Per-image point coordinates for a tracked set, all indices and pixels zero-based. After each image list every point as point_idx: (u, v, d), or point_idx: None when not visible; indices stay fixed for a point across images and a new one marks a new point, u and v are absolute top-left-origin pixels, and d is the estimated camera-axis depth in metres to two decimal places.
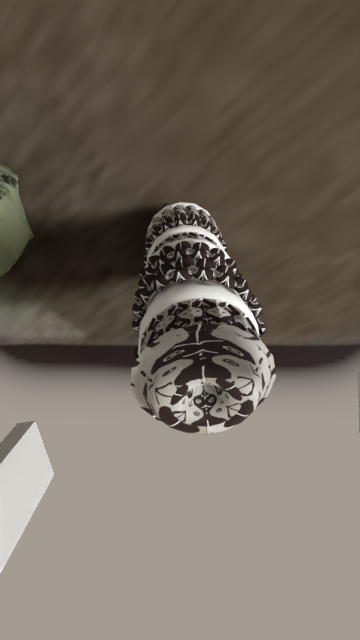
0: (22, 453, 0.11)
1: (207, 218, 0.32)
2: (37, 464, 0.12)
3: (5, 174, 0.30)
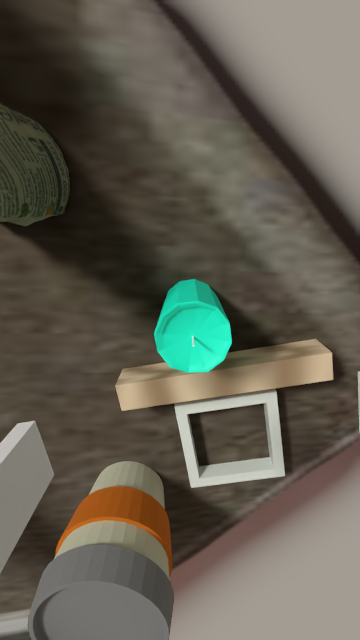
0: (23, 453, 0.11)
1: None
2: (37, 464, 0.12)
3: None
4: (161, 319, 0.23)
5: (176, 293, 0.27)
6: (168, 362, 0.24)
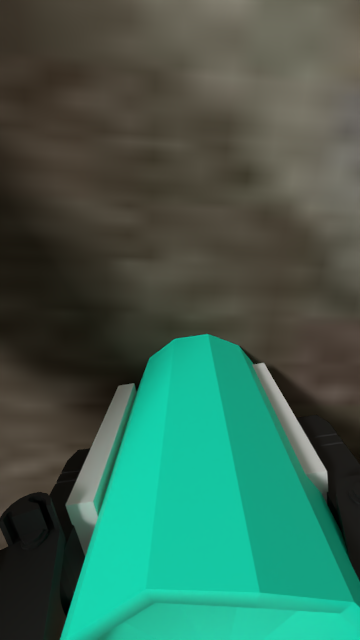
0: None
1: None
2: None
3: None
4: None
5: (160, 414, 0.09)
6: None
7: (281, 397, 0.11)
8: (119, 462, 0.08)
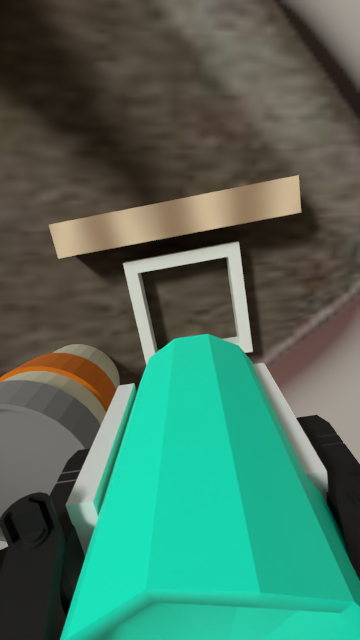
0: None
1: None
2: None
3: None
4: None
5: (160, 414, 0.09)
6: None
7: (281, 397, 0.11)
8: (119, 462, 0.08)
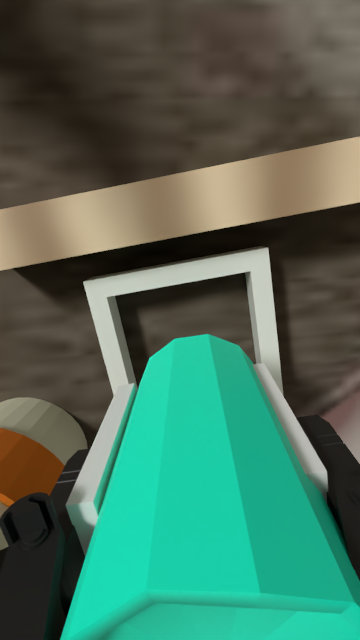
0: None
1: None
2: None
3: None
4: None
5: (160, 414, 0.09)
6: None
7: (281, 397, 0.11)
8: (119, 462, 0.08)
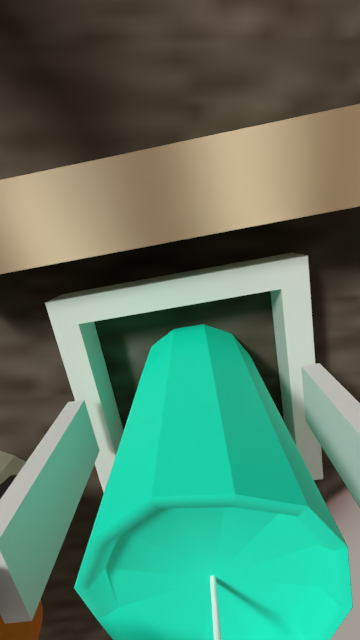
0: (77, 427, 0.12)
1: None
2: (87, 439, 0.13)
3: None
4: (95, 549, 0.06)
5: (161, 387, 0.10)
6: None
7: (354, 401, 0.10)
8: (127, 426, 0.10)
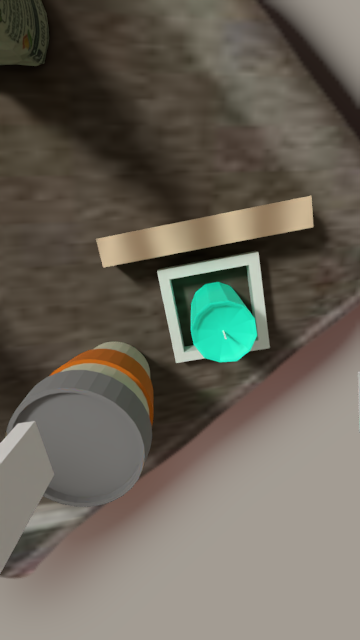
0: (22, 453, 0.11)
1: None
2: (37, 464, 0.12)
3: None
4: (197, 317, 0.27)
5: (206, 294, 0.31)
6: (202, 353, 0.28)
7: None
8: (196, 304, 0.31)
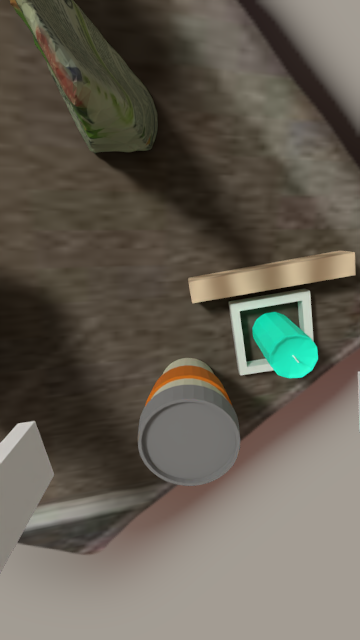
0: (22, 453, 0.11)
1: None
2: (37, 464, 0.12)
3: None
4: (275, 345, 0.37)
5: (273, 325, 0.41)
6: (277, 372, 0.38)
7: None
8: (267, 334, 0.41)
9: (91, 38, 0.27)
